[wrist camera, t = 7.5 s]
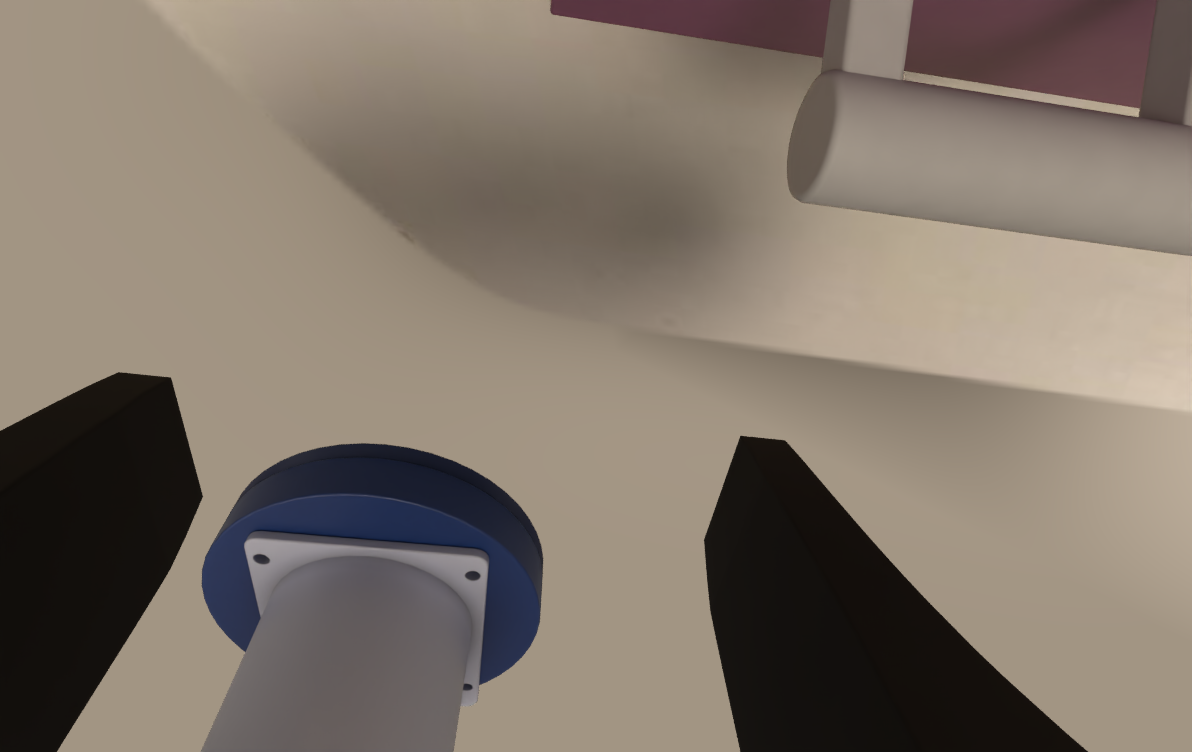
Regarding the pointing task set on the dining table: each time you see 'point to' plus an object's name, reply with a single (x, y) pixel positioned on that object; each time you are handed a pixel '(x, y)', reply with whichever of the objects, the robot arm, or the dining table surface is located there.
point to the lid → (976, 107)
